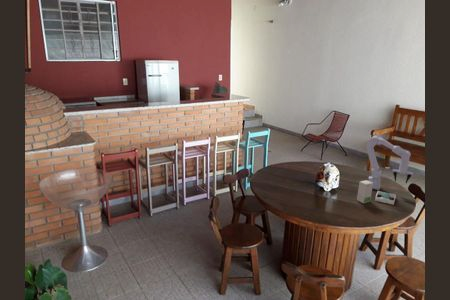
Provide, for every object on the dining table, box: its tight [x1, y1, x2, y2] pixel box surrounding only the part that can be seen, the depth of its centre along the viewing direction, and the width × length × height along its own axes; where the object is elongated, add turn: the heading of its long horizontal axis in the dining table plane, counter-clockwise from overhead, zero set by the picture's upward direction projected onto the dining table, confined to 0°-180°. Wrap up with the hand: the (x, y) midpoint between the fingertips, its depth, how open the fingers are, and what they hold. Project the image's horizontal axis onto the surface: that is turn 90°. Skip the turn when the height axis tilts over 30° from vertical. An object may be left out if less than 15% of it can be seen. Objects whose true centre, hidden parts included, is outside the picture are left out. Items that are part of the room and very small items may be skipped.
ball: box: [381, 192, 390, 199], centre depth 241 cm, size 5×5×5 cm
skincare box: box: [356, 179, 373, 204], centre depth 237 cm, size 8×7×16 cm
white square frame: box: [374, 190, 396, 206], centre depth 242 cm, size 13×13×3 cm
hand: (400, 182), depth 250 cm, fingers open, 7 cm apart
